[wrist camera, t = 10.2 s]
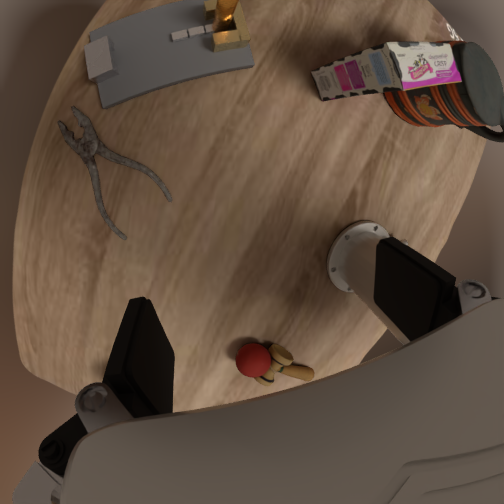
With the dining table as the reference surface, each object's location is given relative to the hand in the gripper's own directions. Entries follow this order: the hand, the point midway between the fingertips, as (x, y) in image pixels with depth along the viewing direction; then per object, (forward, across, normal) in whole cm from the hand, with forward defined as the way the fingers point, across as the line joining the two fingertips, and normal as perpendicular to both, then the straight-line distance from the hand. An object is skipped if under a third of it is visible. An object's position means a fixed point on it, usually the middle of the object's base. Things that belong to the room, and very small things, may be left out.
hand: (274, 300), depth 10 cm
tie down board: (+26, +3, -21) cm, 33 cm away
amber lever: (+24, -1, -21) cm, 32 cm away
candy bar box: (+26, -20, -13) cm, 36 cm away
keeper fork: (+24, -4, -21) cm, 32 cm away
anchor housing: (+24, +11, -20) cm, 33 cm away
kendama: (+27, -3, +32) cm, 42 cm away
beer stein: (+27, -35, -12) cm, 46 cm away
